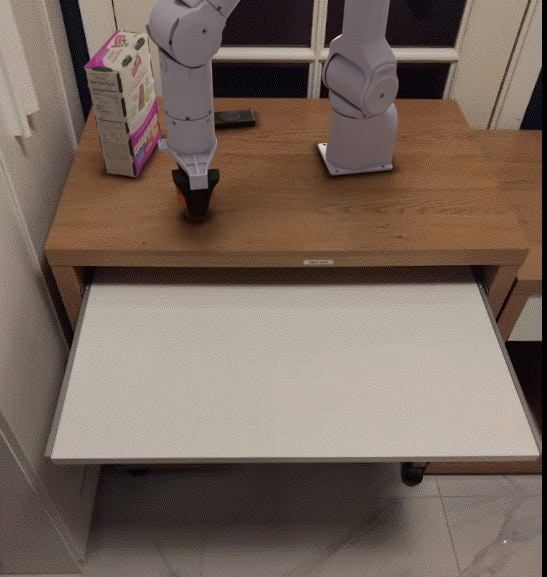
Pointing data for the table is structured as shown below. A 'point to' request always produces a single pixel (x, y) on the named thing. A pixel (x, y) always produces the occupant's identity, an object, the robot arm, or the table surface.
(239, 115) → the hob plate
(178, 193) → the ring
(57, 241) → the table surface
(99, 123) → the candy bar box
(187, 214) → the brown cylinder with stem
